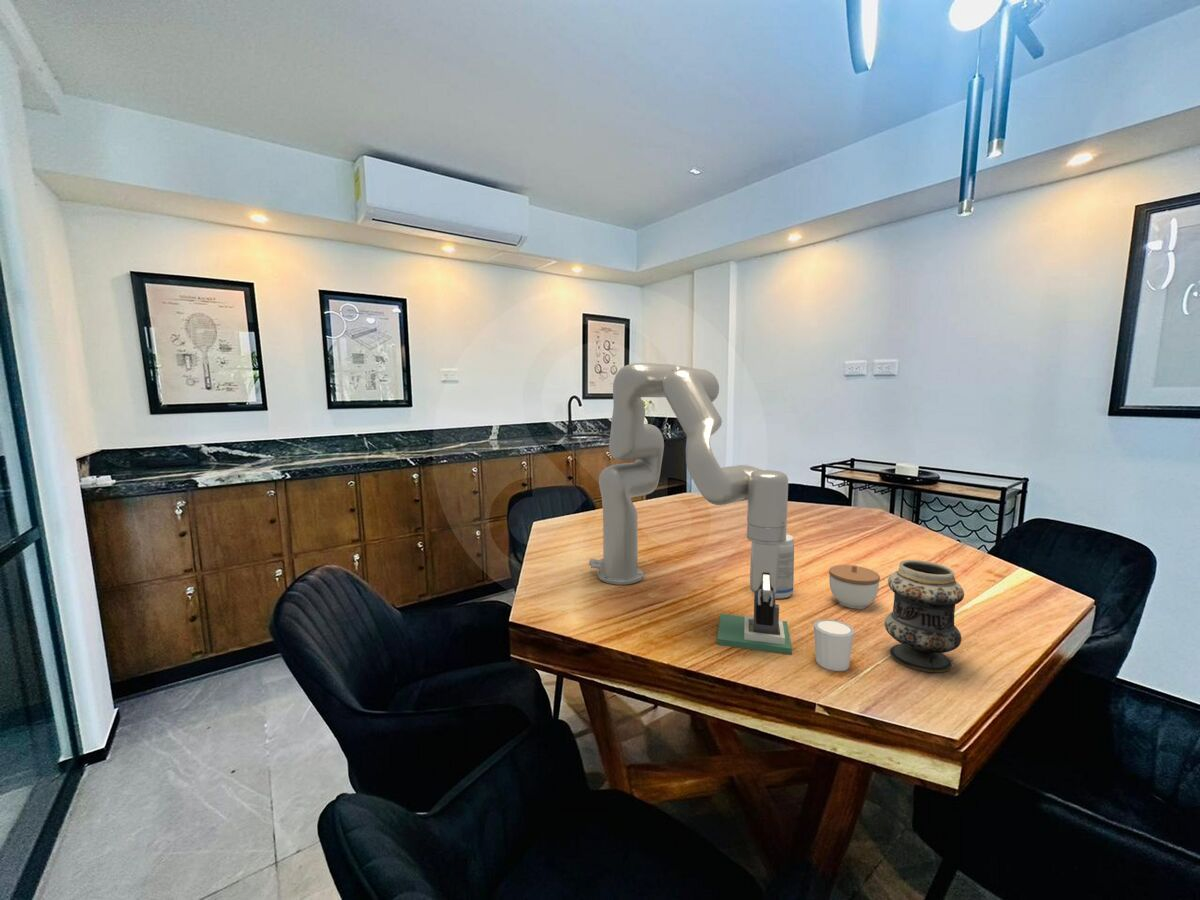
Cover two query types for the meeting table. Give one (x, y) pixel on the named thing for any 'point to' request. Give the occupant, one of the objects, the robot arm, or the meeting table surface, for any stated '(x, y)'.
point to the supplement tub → (785, 569)
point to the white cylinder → (833, 644)
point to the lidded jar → (854, 585)
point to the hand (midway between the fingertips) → (763, 613)
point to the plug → (766, 628)
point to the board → (752, 635)
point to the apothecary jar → (924, 615)
